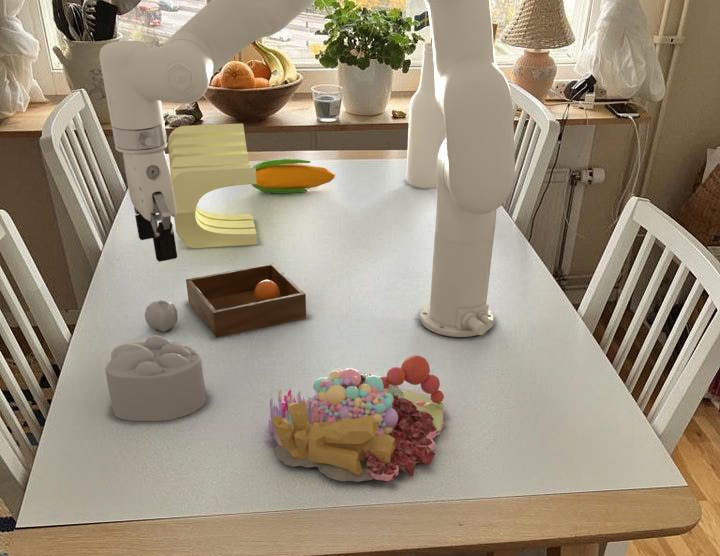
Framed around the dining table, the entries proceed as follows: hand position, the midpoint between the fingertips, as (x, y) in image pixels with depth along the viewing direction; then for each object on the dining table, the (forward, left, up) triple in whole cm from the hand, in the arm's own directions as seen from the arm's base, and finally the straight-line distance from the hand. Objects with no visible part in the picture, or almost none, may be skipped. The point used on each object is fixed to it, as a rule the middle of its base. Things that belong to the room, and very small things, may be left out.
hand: (158, 248), depth 134 cm
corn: (+54, -46, -14) cm, 72 cm away
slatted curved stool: (+36, -21, -14) cm, 44 cm away
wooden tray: (0, -14, -14) cm, 20 cm away
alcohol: (+46, -77, -14) cm, 91 cm away
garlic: (0, +1, -14) cm, 14 cm away
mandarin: (0, -18, -11) cm, 21 cm away
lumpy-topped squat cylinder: (-22, +8, -14) cm, 27 cm away
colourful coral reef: (-42, -14, -14) cm, 47 cm away
